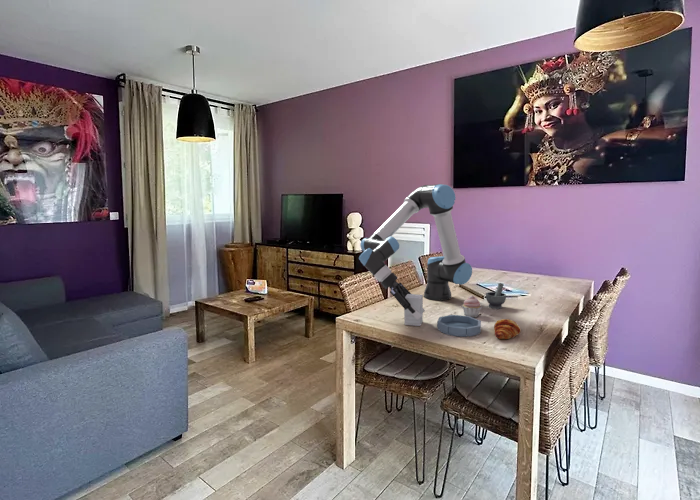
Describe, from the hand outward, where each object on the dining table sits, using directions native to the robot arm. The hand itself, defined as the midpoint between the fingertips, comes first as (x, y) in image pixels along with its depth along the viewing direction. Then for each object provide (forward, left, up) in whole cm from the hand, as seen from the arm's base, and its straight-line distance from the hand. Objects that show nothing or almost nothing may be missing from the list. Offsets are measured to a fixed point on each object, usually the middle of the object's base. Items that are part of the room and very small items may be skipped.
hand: (421, 315), depth 178 cm
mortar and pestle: (-39, +32, -4) cm, 50 cm away
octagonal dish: (+2, +17, -4) cm, 17 cm away
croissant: (+2, +36, -5) cm, 36 cm away
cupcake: (-20, +21, -4) cm, 29 cm away
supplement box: (0, -3, -4) cm, 6 cm away
